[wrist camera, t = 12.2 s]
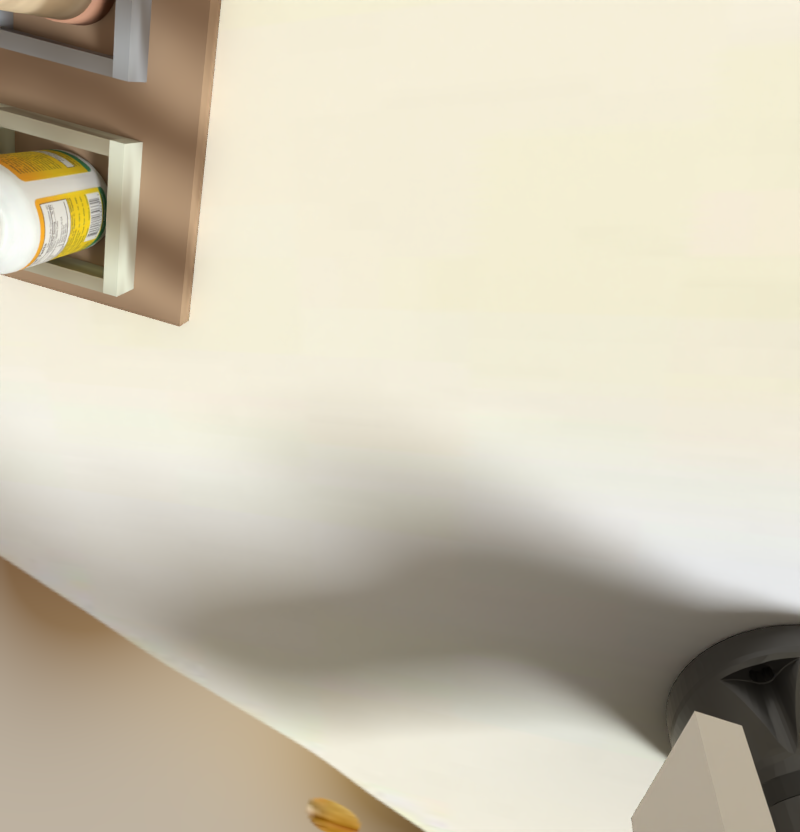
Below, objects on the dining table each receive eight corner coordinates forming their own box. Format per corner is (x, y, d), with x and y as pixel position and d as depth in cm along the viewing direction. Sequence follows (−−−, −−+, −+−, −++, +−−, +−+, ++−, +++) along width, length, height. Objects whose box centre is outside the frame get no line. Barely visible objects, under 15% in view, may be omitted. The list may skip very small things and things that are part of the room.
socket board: (188, 320, 42) (164, 335, 39) (-27, 258, 43) (-65, 268, 40) (233, -125, 32) (206, -146, 30) (-46, -194, 33) (-97, -220, 31)
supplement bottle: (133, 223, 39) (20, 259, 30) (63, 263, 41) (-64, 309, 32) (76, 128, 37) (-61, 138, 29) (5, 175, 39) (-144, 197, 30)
